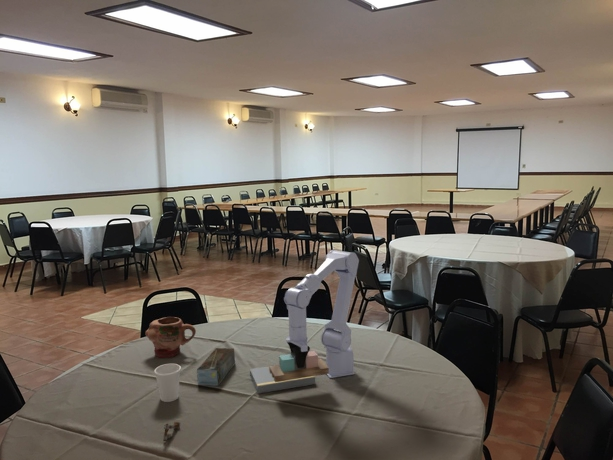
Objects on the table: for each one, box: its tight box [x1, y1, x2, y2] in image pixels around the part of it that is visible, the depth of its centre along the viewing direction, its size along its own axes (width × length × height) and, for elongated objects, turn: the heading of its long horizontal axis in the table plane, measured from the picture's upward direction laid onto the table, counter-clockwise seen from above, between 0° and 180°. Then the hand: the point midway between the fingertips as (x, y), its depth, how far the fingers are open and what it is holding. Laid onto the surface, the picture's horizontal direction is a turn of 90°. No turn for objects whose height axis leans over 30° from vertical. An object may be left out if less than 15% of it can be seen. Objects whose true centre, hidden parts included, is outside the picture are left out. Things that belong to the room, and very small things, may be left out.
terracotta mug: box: [144, 316, 197, 359], centre depth 196 cm, size 20×12×14 cm, turn 95°
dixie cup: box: [153, 363, 182, 403], centre depth 160 cm, size 8×8×10 cm
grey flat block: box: [249, 365, 316, 394], centre depth 171 cm, size 20×14×3 cm
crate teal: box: [278, 353, 295, 372], centre depth 159 cm, size 4×4×4 cm
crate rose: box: [306, 350, 319, 368], centre depth 161 cm, size 4×4×4 cm
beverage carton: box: [196, 347, 236, 387], centre depth 177 cm, size 8×19×7 cm, turn 170°
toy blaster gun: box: [163, 421, 181, 442], centre depth 138 cm, size 2×8×4 cm, turn 169°
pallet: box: [269, 351, 329, 382], centre depth 160 cm, size 18×8×6 cm, turn 107°
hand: (298, 364), depth 160 cm, fingers closed on pallet, 4 cm apart
